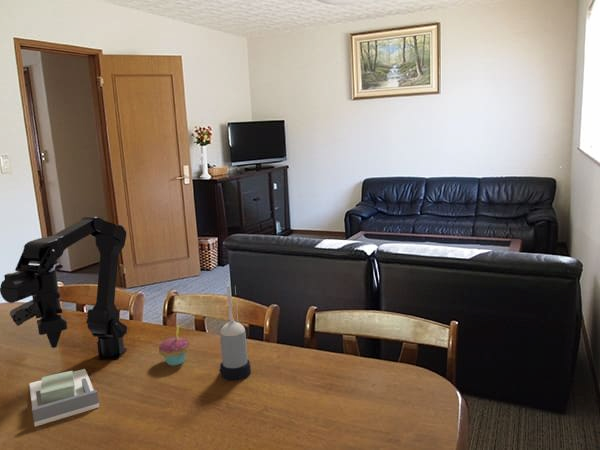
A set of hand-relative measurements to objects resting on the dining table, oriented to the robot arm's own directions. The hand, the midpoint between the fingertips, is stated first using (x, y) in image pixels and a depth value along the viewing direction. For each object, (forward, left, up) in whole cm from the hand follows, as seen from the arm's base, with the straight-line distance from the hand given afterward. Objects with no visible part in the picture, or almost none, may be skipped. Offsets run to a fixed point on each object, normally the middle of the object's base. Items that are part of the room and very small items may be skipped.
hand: (54, 347), depth 129 cm
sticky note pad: (-4, +7, -10) cm, 13 cm away
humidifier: (-46, -7, -12) cm, 48 cm away
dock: (-3, +4, -12) cm, 13 cm away
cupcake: (-27, -14, -12) cm, 32 cm away
